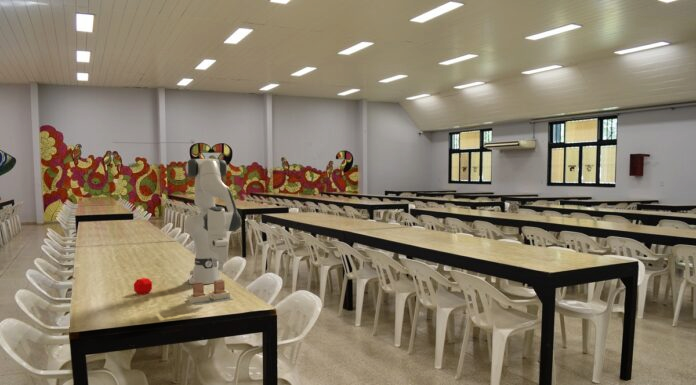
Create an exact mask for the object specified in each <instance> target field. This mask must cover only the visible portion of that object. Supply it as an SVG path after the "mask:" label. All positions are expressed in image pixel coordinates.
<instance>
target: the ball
mask: <svg viewBox="0 0 696 385" xmlns="http://www.w3.org/2000/svg"><path fill="white" fill-rule="evenodd" d="M152 290H153V281H152V280H151V279H150V278H147V277H146V278H145V277H141V278H138V279H136V280H135V282H134V283H133V291H134V292H135V293H136V294H137V295H142V296H143V295H146V294H150V292H151V291H152Z"/></svg>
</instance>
